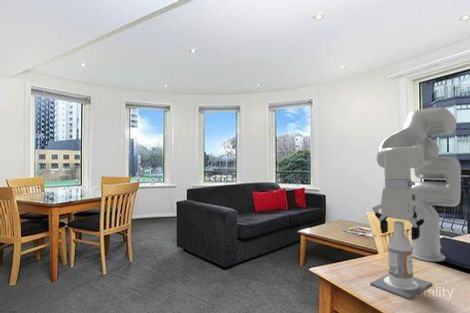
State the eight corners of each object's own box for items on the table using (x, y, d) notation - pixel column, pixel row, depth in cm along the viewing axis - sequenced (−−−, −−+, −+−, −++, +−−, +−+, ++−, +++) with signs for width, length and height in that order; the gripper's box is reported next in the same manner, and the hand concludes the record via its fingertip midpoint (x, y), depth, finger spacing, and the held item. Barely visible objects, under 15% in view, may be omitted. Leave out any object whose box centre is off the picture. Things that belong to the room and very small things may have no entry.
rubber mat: (394, 272, 101) (394, 270, 101) (431, 284, 91) (431, 282, 92) (370, 284, 92) (370, 282, 92) (408, 299, 83) (408, 297, 83)
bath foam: (407, 289, 87) (404, 225, 88) (385, 281, 93) (382, 221, 93) (417, 283, 91) (414, 222, 91) (395, 276, 97) (393, 219, 97)
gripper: (432, 185, 87) (434, 239, 87) (378, 182, 102) (379, 228, 101) (421, 187, 83) (423, 244, 83) (366, 183, 97) (368, 232, 97)
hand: (399, 235), depth 92 cm, fingers open, 9 cm apart
